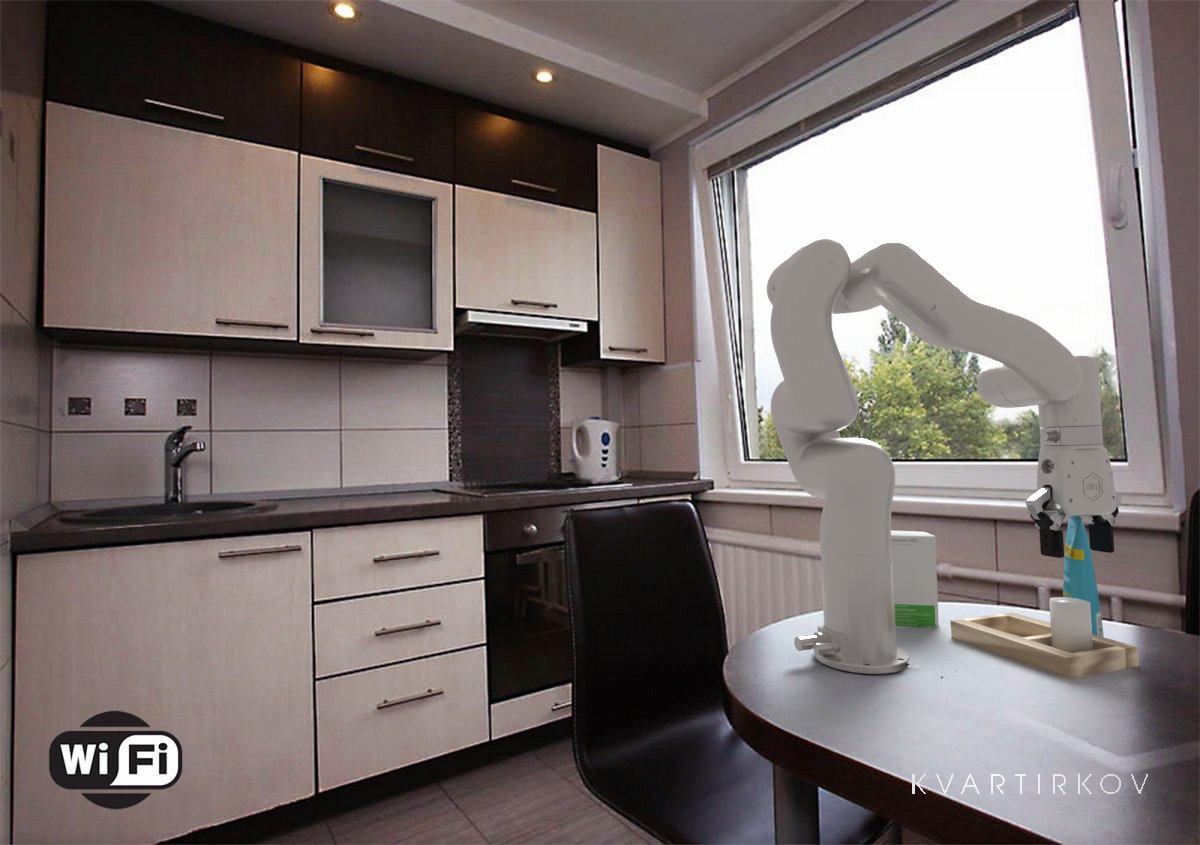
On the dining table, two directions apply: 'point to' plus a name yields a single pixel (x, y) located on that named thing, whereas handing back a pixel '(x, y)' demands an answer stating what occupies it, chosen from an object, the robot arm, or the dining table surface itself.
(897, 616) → the skincare box
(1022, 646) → the birch holder
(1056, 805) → the dining table surface
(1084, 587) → the tube
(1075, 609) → the white rounded cylinder
